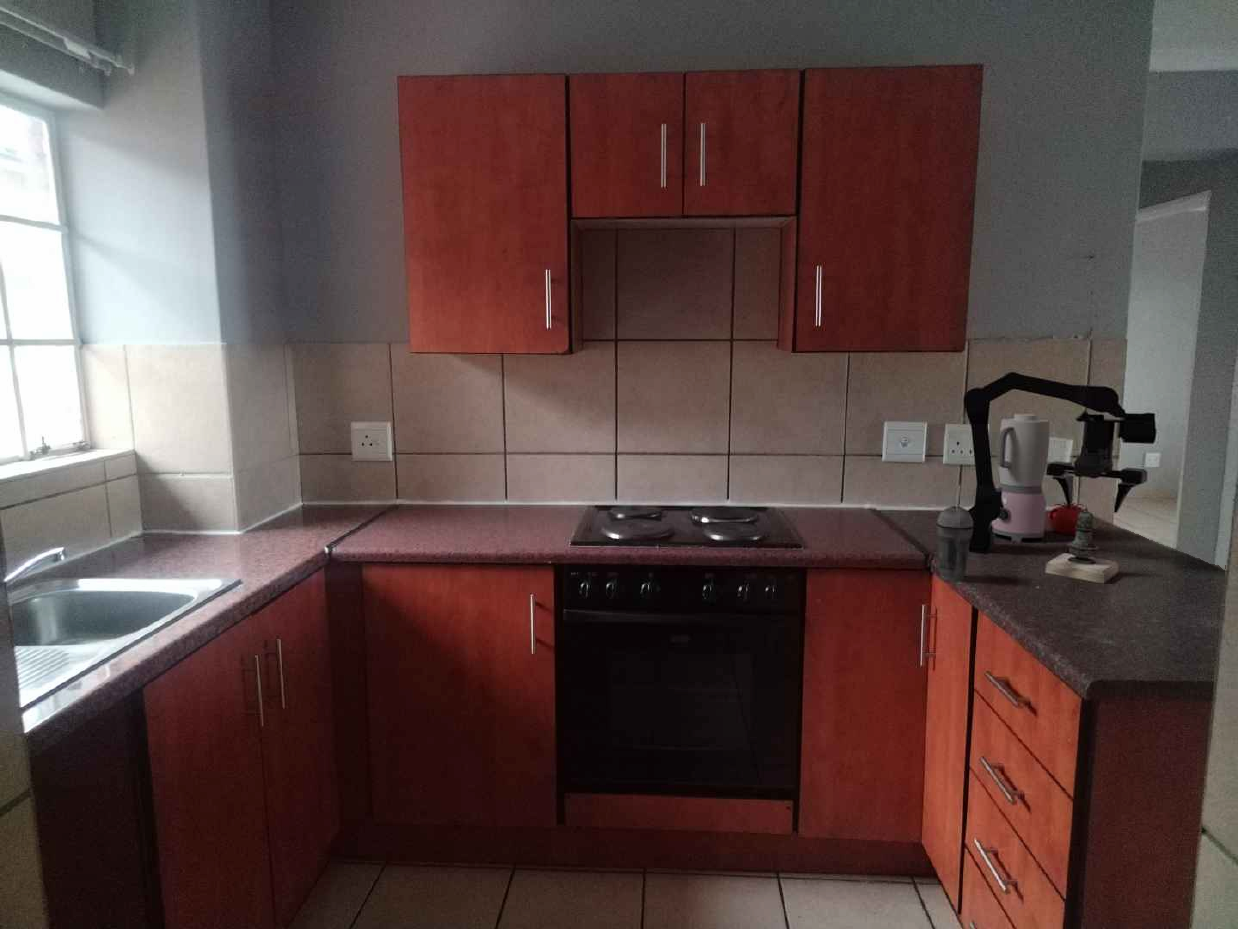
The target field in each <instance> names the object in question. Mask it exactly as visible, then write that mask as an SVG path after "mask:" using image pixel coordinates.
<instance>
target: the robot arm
mask: <svg viewBox="0 0 1238 929" xmlns="http://www.w3.org/2000/svg"><path fill="white" fill-rule="evenodd" d="M1013 390H1018V391H1024V392H1027V393H1032V394H1037V395H1040V396H1046V397H1051V398H1055V399H1060V400H1065V401H1067V402H1072V403H1073V404H1076V405H1078V406H1081V407H1084V408H1086V409H1089V410H1090V411H1091V410H1092V411H1094V412H1096V413H1104V414H1105V413H1107V414H1109V415H1110V416H1113V417H1114V418H1116V419H1114V418H1105V415H1104V414H1095V413H1094V414H1093V413H1091V414H1090V413H1088V412H1087V411H1086V410H1083V411H1082V412H1081V413H1080V415H1078V416H1076V417H1075V418H1074V420H1075V421H1076V422H1079V423H1080V422H1081V423H1084V427H1083V428H1084V430H1083V441H1082V446H1081V449H1080V454H1079V455H1078V456H1077V458H1076V459H1075V461H1074V462H1073V463H1072V462H1067V461H1066V462H1065V461H1056V460H1055V461H1053V462H1050V463H1048V464H1047V465H1046V469H1045V471H1046V472H1045V475H1046V476H1051V477H1052V480H1054V481H1057V482H1058V484H1059V485H1060V487H1061V490H1062V492H1063V495H1064V498H1065V503H1066V504H1067V505H1068V507H1071V505H1072V504H1073V501H1072V500H1074V499H1073V497H1074V496H1073V495H1074V493H1073V492H1074V476H1075V477H1077V478H1081V477H1084V478H1090V479H1098V478H1108V479H1110V478H1111V479H1119V480H1120V481H1121V482H1119V483H1118V484H1117V492H1116V498H1115V501H1114V502H1115V503H1114V508H1113V509H1114V510H1113V513H1115V514H1117V513H1118V512H1119V510H1120V508H1121V506H1122V504H1123V502H1124V501H1125V499H1126V498H1127V495H1128V494H1129V492H1130V491H1131V489H1132V488H1135V487H1138V486H1139V485H1143V484H1145V483H1146V482H1148V475H1149V474H1148V471H1147V470H1146V469H1145V468H1138V467H1125V468H1123V469H1122V468H1121V470H1119V469H1118V470H1117V469H1113V467H1114V465H1113V464H1114V462H1113V451H1114V438H1115V437H1114V436H1115V425H1116V423H1117V425H1116V438H1117V439H1121V442H1122V444H1145V445H1153V444H1154V443H1155V441H1156V437H1157V428H1156V413H1154V412H1143V413H1135V412H1133V413H1131V412H1130V413H1129V412H1126V409H1124V408H1122V406H1121V405H1120V403H1119V399H1120V398H1119V395H1118V393H1117V391H1116V390H1115V389H1114V388H1112V387H1109V386H1105V385H1092V384H1091V385H1090V384H1070V383H1066V382H1060V381H1057V380H1051V379H1045V378H1041V377H1036V376H1031V375H1027V374H1022V373H1018V372H1015V371H1010V372H1007V373H1005V375H1003V376H1001V377H1000V378H998V379H996V380H994V381H992V382H990V383H988V384H986V385H984V386H983V387H981V386H976V387H972V388H970V389H968V390H967V392H966V393H965V394H964V395H963V406H964V409H965V413H966V416H967V418H968V422H969V425H970V427H971V438H972V448H973V449H972V450H973V457H974V458H973V459H974V467H975V477H976V478H975V479H976V486H975V487H976V488H975V498H974V505H973V506H972V507H970V508H969V509H967V511H968V512H969V513H970V515H971V517H972V519H973V525H974V528H973V533H972V536H971V538H970V545H969V551H968V552H975V553H979V552H981V554H986V553H988V552H991V551H993V550H994V549H995V537H996V535H995V533H994V532H993V525H992V521H994V520H996V519H997V518H998V517H999V516H1000V513H1001V508H1004V502H1003V501H1002V488H999V487H997V488H996V485H995V482H994V474H993V467H992V466H993V464H992V455H991V445H990V444H991V443H990V434H989V418H990V417H989V416H990V407H991V402H993V401H994V400H996V399H998V398H1000V397H1002V396H1003V395H1005V394H1007V393H1009V392H1010V391H1013Z"/></svg>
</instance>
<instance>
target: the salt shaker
mask: <svg viewBox="0 0 1238 929" xmlns="http://www.w3.org/2000/svg"><path fill="white" fill-rule="evenodd" d="M1083 510H1085V511H1083V512H1080V513H1079V514H1078V519H1077V526H1076V527H1075V529H1076V535H1075V537H1074V539H1073V541H1072V542H1071V541H1070V542H1067V546H1068V550H1069V554H1072V555H1074V556H1076V557H1070V558H1068V561H1070V562H1072V563H1076V564H1083V565H1093V564H1096V562H1095V561H1094V560H1092V559H1090V557H1091V558H1094V556H1096V554H1097V552H1098V549H1100V546H1098V544H1097V545H1096V544H1095V543H1094V542H1093V531H1095V528H1094V527H1093V525H1094V515H1093V513H1092V512H1090V511H1088V510H1089V509H1088V507H1085V508H1084V509H1083Z"/></svg>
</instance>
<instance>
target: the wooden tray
mask: <svg viewBox="0 0 1238 929" xmlns="http://www.w3.org/2000/svg"><path fill="white" fill-rule="evenodd" d="M1070 557H1076V556H1074V555H1072V554H1071V553H1066V552H1065V553H1064V552H1063V553H1060V555H1058V556H1056V557H1054V558H1053V559H1051V560H1049V561H1048V562H1045V572H1044V573H1046V574H1051V575H1055V576H1056V575H1057V576H1062V577H1067V578H1071V579H1077V580H1083V581H1089V582H1094V583H1099V584H1106V582H1108V581H1109V580H1110V579H1111V578H1113V577H1114V576H1116V575H1117V574H1118V573H1119V563H1117V561H1114V560H1113V561H1112V560H1108V559H1102V558H1096V557H1090V559H1092V560H1094V561H1095V562H1096V564H1093V565H1083V564H1076V563H1072V562H1070V561H1068V558H1070Z"/></svg>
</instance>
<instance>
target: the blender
mask: <svg viewBox="0 0 1238 929" xmlns="http://www.w3.org/2000/svg"><path fill="white" fill-rule="evenodd" d="M999 430H1000V431H999V435H998V443H997V465H998V472H999V473H998V474H999V481H1000V482H999V486H998V488H1002V501H1003V502H1004V508H1001V513H1000V516H999V517H998V518H997V519H996V520H994V521H991V525H993V532H994V533H995V536H996V534H997V535H1001V536H1006V537H1011V541H1012V542H1013V541H1017V542H1016V543H1021V542H1022V539H1035V538H1038V539H1043V537H1044V536H1045V520H1046V513H1047V512H1046V508H1047V501H1046V496H1045V494H1044V492H1043V489H1042V487H1043V479H1044V476H1045V474H1046V472H1045V471H1046V470H1047V466H1048V459H1049V449H1050V448H1049V447H1050V421H1049V420H1047V419H1040V418H1039V419H1038V415H1037V414H1028V413H1026V414H1025V413H1015V414H1014V417H1013V418H1003V419H1001V422H1000V429H999Z"/></svg>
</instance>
